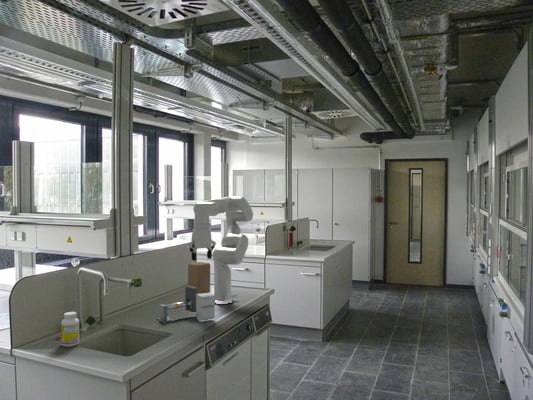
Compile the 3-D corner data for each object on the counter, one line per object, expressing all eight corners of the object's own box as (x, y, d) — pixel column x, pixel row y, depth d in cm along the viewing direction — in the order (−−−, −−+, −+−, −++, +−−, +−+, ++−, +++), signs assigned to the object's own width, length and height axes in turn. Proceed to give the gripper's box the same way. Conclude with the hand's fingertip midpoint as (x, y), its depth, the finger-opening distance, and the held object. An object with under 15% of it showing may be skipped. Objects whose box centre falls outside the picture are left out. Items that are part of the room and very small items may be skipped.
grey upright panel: (189, 308, 228) (189, 285, 228) (196, 311, 222) (197, 287, 222) (185, 309, 226) (185, 286, 226) (192, 312, 221) (192, 288, 221)
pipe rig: (195, 311, 231) (195, 297, 231) (203, 315, 225) (203, 299, 225) (156, 319, 216) (156, 303, 216) (164, 322, 210) (164, 306, 210)
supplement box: (200, 323, 211) (200, 296, 211) (195, 319, 218) (195, 293, 217) (215, 321, 214) (215, 295, 214) (209, 317, 221) (210, 292, 221)
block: (210, 295, 268) (210, 263, 268) (198, 298, 260) (198, 265, 260) (199, 293, 274) (199, 261, 274) (187, 296, 266) (187, 263, 266)
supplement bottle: (64, 341, 182) (65, 311, 182) (81, 341, 183) (81, 310, 183) (58, 347, 176) (58, 315, 176) (75, 347, 176) (75, 315, 176)
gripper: (212, 225, 237) (211, 257, 237) (183, 226, 225) (183, 260, 226) (219, 226, 231) (219, 258, 231) (191, 227, 220) (190, 262, 220)
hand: (201, 259), depth 228 cm, fingers open, 8 cm apart
